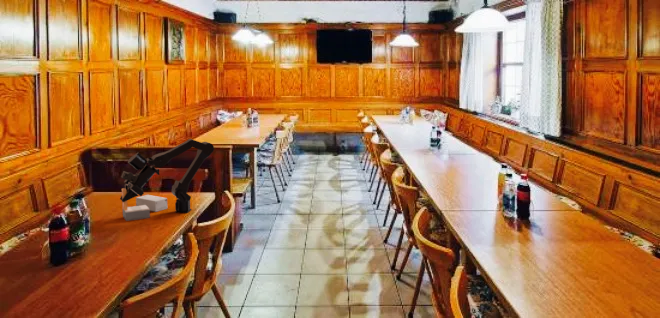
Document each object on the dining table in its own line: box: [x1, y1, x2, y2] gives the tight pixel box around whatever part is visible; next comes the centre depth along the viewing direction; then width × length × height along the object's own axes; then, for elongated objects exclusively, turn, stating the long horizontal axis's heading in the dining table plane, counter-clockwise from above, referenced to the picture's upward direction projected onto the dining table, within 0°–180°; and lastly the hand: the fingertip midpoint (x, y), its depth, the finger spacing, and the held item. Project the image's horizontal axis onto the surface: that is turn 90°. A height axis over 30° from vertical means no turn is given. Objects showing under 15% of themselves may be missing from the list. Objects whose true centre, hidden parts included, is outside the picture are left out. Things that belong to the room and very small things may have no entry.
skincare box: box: [135, 194, 168, 212], centre depth 260 cm, size 8×6×15 cm
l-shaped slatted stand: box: [121, 187, 149, 213], centre depth 242 cm, size 11×8×11 cm
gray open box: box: [122, 209, 151, 222], centre depth 244 cm, size 11×8×4 cm
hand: (121, 200), depth 239 cm, fingers closed on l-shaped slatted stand, 4 cm apart
